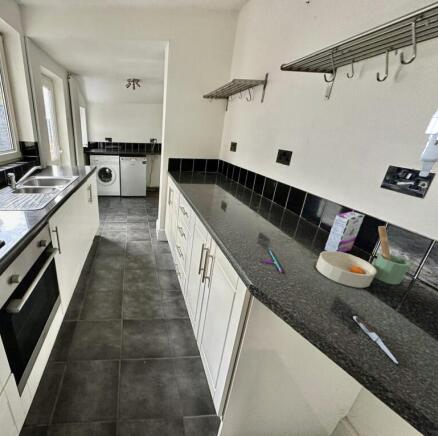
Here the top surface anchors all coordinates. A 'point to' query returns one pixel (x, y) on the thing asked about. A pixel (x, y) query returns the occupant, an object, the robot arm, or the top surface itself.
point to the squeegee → (274, 262)
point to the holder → (391, 269)
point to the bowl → (345, 268)
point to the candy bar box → (344, 232)
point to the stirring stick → (384, 242)
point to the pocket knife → (373, 336)
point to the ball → (356, 270)
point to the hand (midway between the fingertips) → (426, 174)
